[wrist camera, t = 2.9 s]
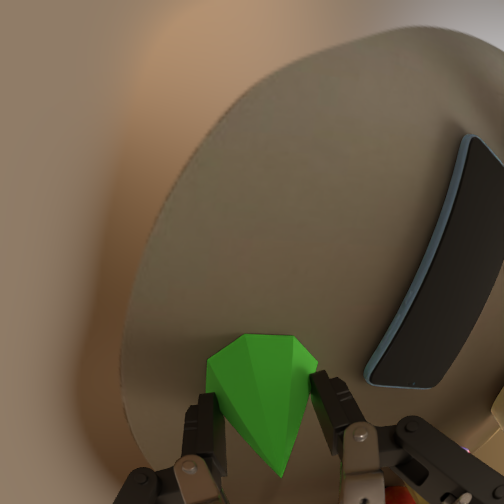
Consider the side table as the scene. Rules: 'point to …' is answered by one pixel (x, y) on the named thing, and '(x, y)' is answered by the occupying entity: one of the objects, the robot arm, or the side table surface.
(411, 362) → the smartphone
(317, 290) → the side table surface
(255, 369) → the gemstone
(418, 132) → the side table surface
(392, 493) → the fruit
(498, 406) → the reusable coffee cup
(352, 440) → the robot arm
